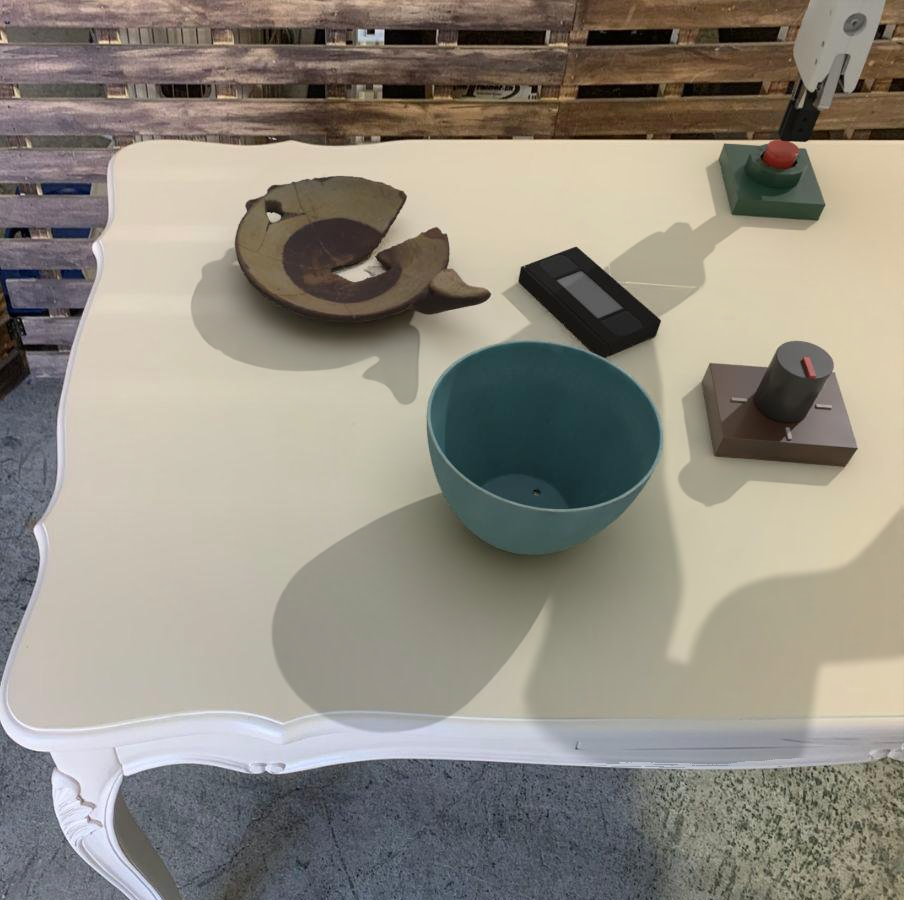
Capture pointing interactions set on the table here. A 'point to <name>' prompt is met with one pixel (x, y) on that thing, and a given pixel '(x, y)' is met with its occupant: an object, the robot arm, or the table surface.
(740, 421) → the panel
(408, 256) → the broken bowl
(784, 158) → the button
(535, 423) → the plant pot
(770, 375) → the knob
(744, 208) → the button box
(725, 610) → the table surface
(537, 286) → the vhs tape
